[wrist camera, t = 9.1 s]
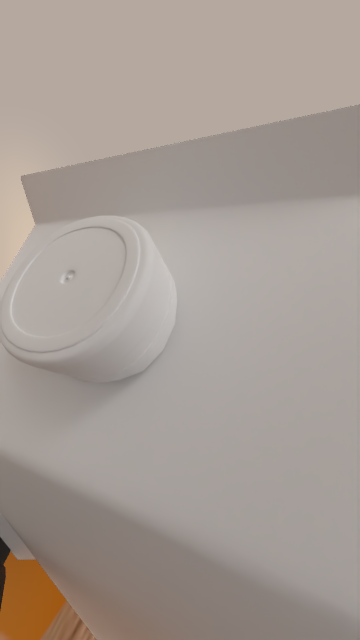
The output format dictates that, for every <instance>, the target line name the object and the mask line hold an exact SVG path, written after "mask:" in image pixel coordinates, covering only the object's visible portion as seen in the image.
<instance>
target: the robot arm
mask: <svg viewBox="0 0 360 640" xmlns="http://www.w3.org/2000/svg"><path fill="white" fill-rule="evenodd" d="M10 551H11V552H12V554H13V555H14V556H15V557H16V558H17V559H18V560H27V559H35V557H34V556H33V555H32V553H31V552H30V551H29V549H28V548H27V547H26V545H25V544H24V543H23V541H22V540H21V539H20V537H19V536H18V535H17V533H16V532H15V531H14V529H13V528H12V527H11V526H10V524H9V523H8V522H7V520H6V519H5V518H4V516H3V515H2V514H1V512H0V609H1V602H2V596H3V590H4V584H5V577H6V575H5V567H4V565H3V564H4V562H5V560H6V559H7V556H8V555H9V553H10Z"/></svg>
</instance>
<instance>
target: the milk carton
mask: <svg viewBox="0 0 360 640" xmlns="http://www.w3.org/2000/svg"><path fill="white" fill-rule="evenodd" d="M21 181H22V184H23V187H24V190H25V194H26V197H27V199H28V203H29V206H30V209H31V212H32V215H33V218H34V222H35V226H34V228H33V230H32V231H31V233H30V234H29V236H28V237H27V239H26V241H25V242H24V244H23V246H22V247H21V249H20V250H19V252H18V254H17V255H16V257H15V258H14V260H13V262H12V264H11V265H10V267H9V268H8V270H7V272H6V273H5V275H4V276H3V278H2V280H1V281H0V512H1V514H2V515H3V516H4V518H5V519H6V520H7V522H8V523H9V524H10V526H11V527H12V528H13V529H14V531H15V532H16V533H17V535H18V536H19V537H20V539H21V540H22V541H23V543H24V544H25V545H26V547H27V548H28V549H29V551H30V552H31V553H32V555H33V556H34V557H35V559H36V560H37V561H38V563H39V564H40V565H41V567H42V568H43V569H44V570H45V572H46V573H47V575H48V576H49V577H50V579H51V580H52V581H53V583H54V584H55V585H56V587H57V588H58V589H59V591H60V592H61V593H62V595H63V596H64V597H65V599H66V600H67V601H68V603H69V604H70V605H71V607H72V608H73V609H74V611H75V612H76V613H77V615H78V616H79V617H80V619H81V620H82V621H83V623H84V624H85V625H86V627H87V628H88V629H89V631H90V632H91V633H92V635H93V636H94V637H95V639H96V640H360V105H355V106H350V107H345V108H341V109H336V110H332V111H327V112H322V113H317V114H313V115H308V116H303V117H298V118H294V119H289V120H284V121H279V122H274V123H270V124H265V125H261V126H256V127H251V128H246V129H241V130H237V131H232V132H227V133H222V134H217V135H213V136H208V137H204V138H199V139H194V140H189V141H184V142H180V143H175V144H170V145H165V146H161V147H156V148H151V149H147V150H142V151H137V152H132V153H127V154H123V155H118V156H113V157H109V158H104V159H99V160H94V161H90V162H85V163H80V164H75V165H71V166H66V167H61V168H56V169H52V170H47V171H42V172H37V173H33V174H28V175H24V176H21Z"/></svg>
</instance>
